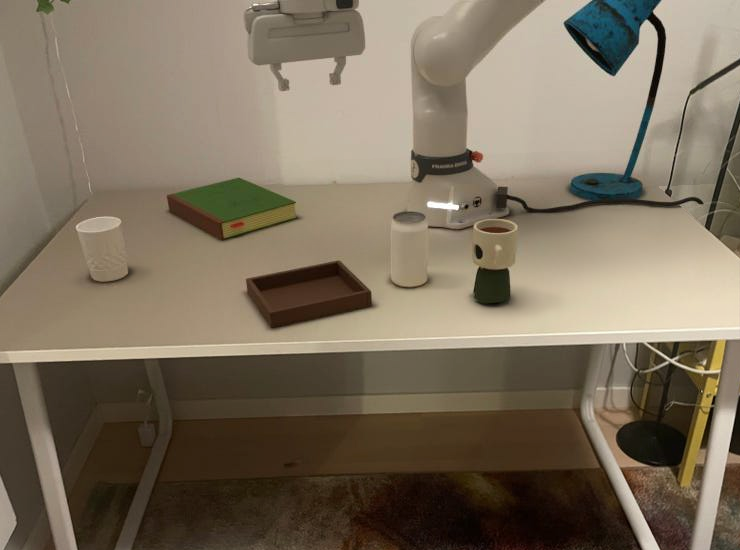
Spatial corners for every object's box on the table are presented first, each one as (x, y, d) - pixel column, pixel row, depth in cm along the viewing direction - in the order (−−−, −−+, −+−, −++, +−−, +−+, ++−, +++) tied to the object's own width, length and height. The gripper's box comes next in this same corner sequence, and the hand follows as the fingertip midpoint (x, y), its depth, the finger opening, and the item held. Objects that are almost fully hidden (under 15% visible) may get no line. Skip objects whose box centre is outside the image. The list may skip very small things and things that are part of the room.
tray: (340, 274, 137) (339, 260, 136) (371, 306, 126) (371, 291, 124) (247, 293, 132) (245, 278, 130) (271, 328, 120) (269, 312, 119)
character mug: (467, 285, 131) (469, 214, 125) (507, 284, 131) (512, 213, 124) (473, 314, 122) (477, 239, 115) (517, 313, 122) (523, 238, 115)
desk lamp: (540, 183, 179) (558, -28, 156) (629, 177, 180) (660, -33, 157) (560, 205, 165) (583, -23, 142) (657, 199, 166) (695, -28, 143)
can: (424, 289, 131) (425, 224, 124) (388, 287, 132) (387, 222, 126) (429, 274, 136) (430, 210, 130) (394, 272, 137) (393, 209, 131)
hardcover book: (169, 211, 170) (166, 195, 168) (240, 192, 180) (239, 177, 178) (223, 241, 153) (221, 224, 151) (299, 219, 163) (297, 202, 161)
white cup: (92, 287, 136) (79, 235, 131) (85, 271, 142) (72, 221, 137) (135, 277, 139) (125, 226, 134) (126, 263, 145) (116, 213, 140)
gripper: (247, 5, 117) (257, 97, 124) (367, -4, 124) (370, 84, 131) (237, 2, 122) (247, 90, 129) (353, -7, 129) (356, 78, 136)
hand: (310, 87), depth 130 cm, fingers open, 8 cm apart
